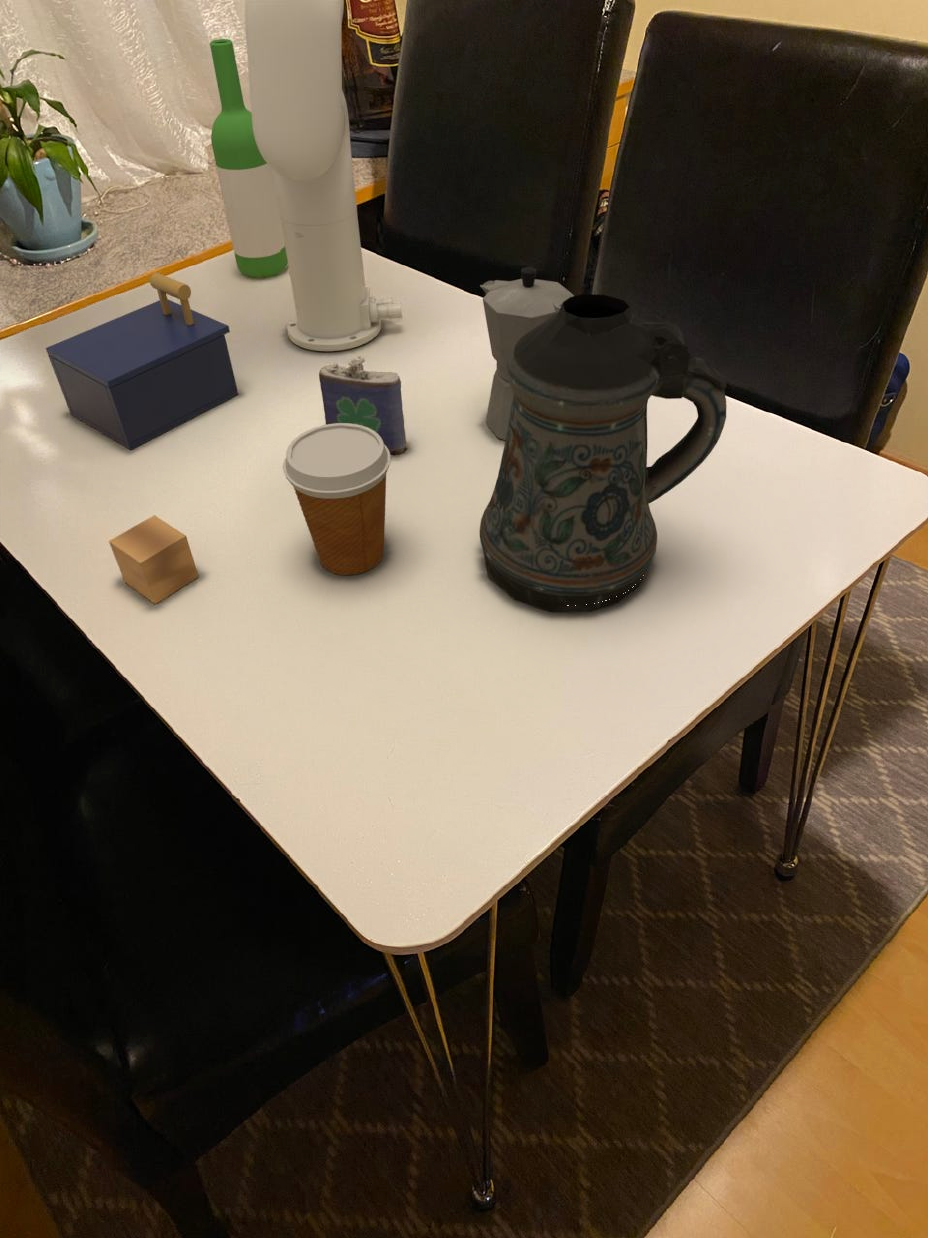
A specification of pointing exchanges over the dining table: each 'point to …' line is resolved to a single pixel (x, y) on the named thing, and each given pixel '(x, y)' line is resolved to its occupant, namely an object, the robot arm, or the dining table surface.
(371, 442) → the disposable coffee cup
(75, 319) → the dining table surface
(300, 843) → the dining table surface
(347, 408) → the flask
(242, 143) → the wine bottle
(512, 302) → the coffeepot
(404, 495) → the dining table surface
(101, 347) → the lid
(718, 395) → the beer stein
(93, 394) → the chest
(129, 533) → the block
